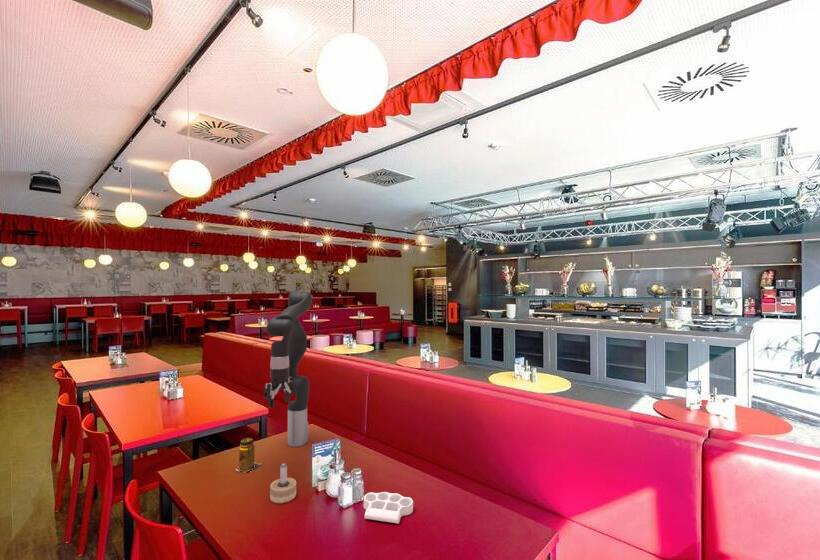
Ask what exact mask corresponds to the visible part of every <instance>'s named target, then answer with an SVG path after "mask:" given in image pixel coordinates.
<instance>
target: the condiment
mask: <svg viewBox="0 0 820 560" xmlns="http://www.w3.org/2000/svg"><path fill="white" fill-rule="evenodd" d="M254 441H255V440H254V439H253V438H252V437H251V438H250V437H246V438H243V439H241V440H240V442H239V443H240V444H239V448H238V453H239V456H238V468H239V470H240V471H248V470H251V469H252V471H254V470H255V469H257V468H258V467H260V466H261V465H263V463H259V462H256V461H255V444H254ZM254 465H255V468H254ZM253 469H254V470H253ZM239 470H238V469H237V468H236V469H234V471H237V472H240V471H239Z"/></svg>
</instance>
